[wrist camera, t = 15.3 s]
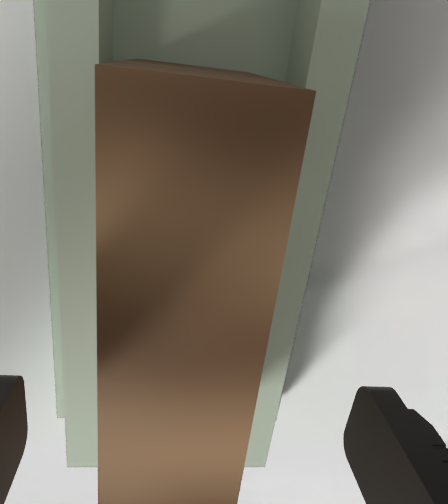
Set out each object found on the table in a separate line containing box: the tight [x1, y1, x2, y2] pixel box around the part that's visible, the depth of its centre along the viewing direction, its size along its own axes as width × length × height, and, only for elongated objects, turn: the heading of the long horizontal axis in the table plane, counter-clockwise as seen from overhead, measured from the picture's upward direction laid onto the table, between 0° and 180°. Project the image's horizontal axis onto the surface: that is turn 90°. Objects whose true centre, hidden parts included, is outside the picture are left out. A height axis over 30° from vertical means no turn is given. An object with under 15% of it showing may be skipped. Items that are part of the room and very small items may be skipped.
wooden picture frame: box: [95, 59, 316, 504], centre depth 15 cm, size 14×4×9 cm, turn 173°
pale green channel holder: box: [33, 0, 371, 467], centre depth 18 cm, size 22×12×4 cm, turn 173°
